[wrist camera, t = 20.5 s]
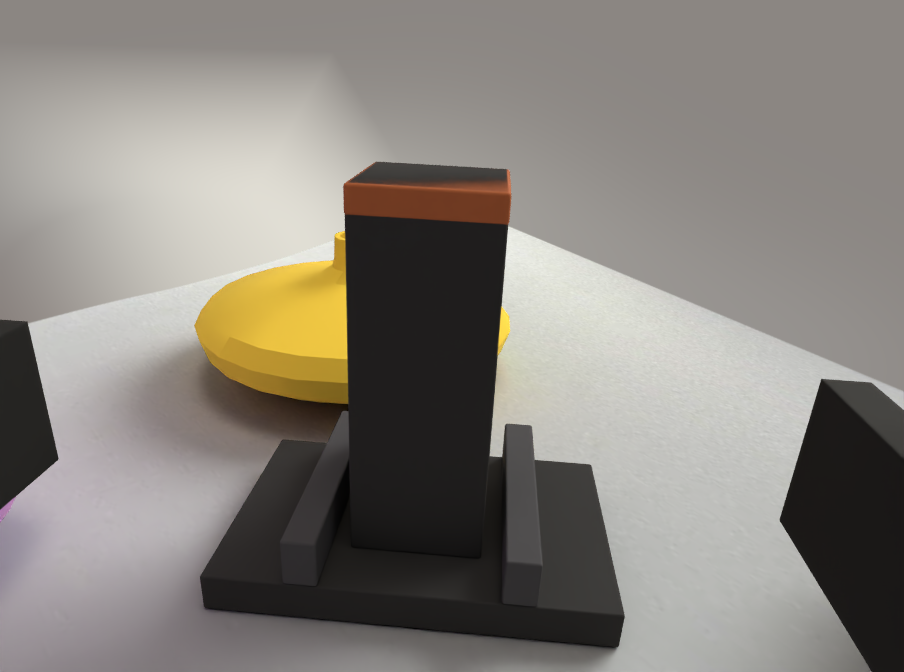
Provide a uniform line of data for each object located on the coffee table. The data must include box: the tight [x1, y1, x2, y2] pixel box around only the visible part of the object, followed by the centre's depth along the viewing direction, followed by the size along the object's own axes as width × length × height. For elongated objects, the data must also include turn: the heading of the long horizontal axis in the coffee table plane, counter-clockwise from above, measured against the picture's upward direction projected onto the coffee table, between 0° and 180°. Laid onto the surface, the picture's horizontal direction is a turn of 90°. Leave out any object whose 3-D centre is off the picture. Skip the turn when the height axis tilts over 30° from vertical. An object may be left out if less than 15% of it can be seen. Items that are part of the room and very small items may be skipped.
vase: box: [194, 231, 510, 404], centre depth 33 cm, size 16×16×7 cm
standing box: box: [343, 162, 511, 558], centre depth 19 cm, size 4×4×11 cm
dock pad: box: [200, 411, 625, 647], centre depth 21 cm, size 12×7×3 cm, turn 86°
